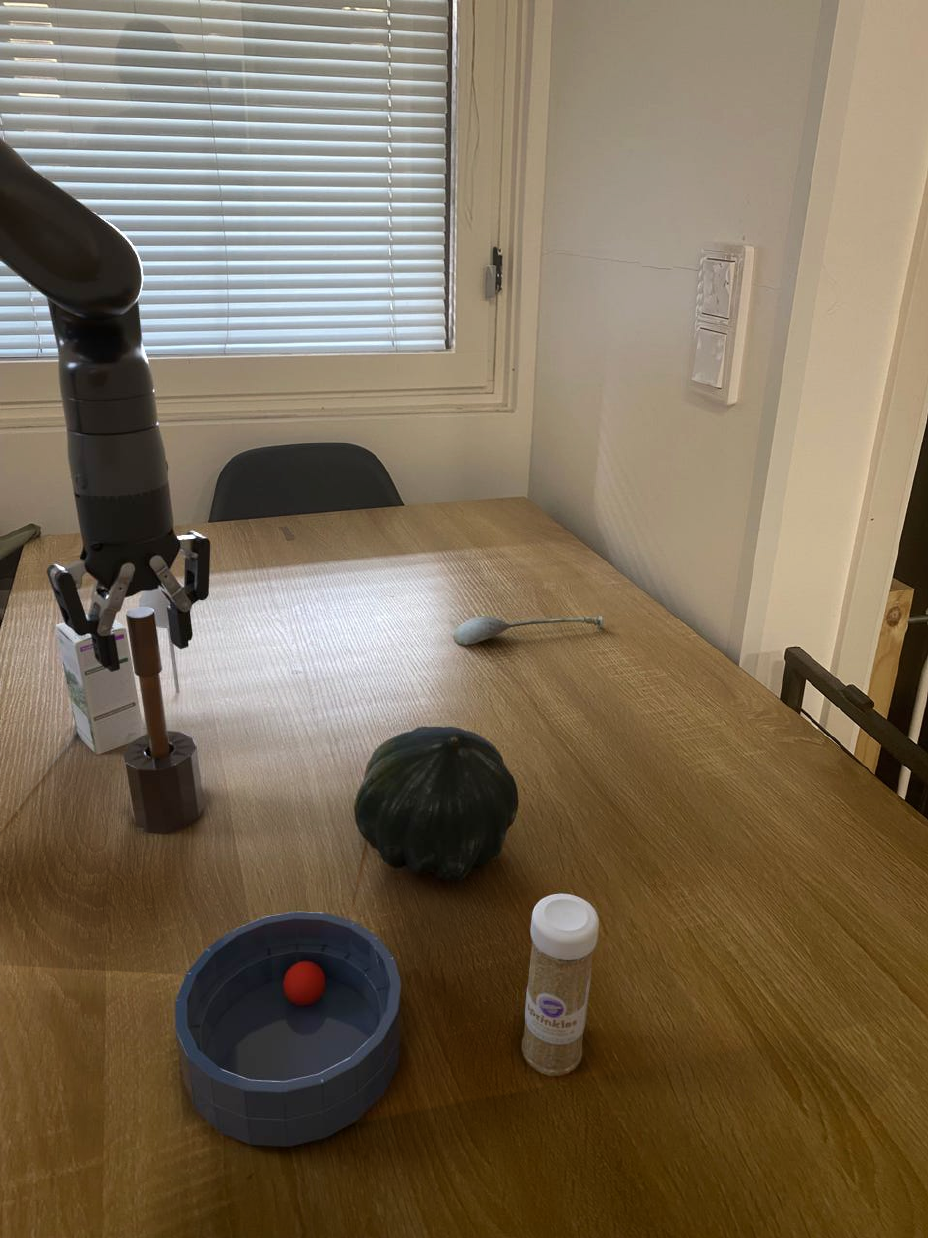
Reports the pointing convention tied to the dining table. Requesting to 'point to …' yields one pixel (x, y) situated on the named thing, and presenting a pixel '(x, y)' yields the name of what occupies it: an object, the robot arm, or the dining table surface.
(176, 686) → the lollipop
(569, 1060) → the sprinkles bottle
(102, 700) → the syrup box
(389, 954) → the bowl
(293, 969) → the cherry tomato
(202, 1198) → the dining table surface
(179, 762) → the crock
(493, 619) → the soupspoon
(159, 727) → the stirring stick
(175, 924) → the dining table surface
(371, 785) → the squash
